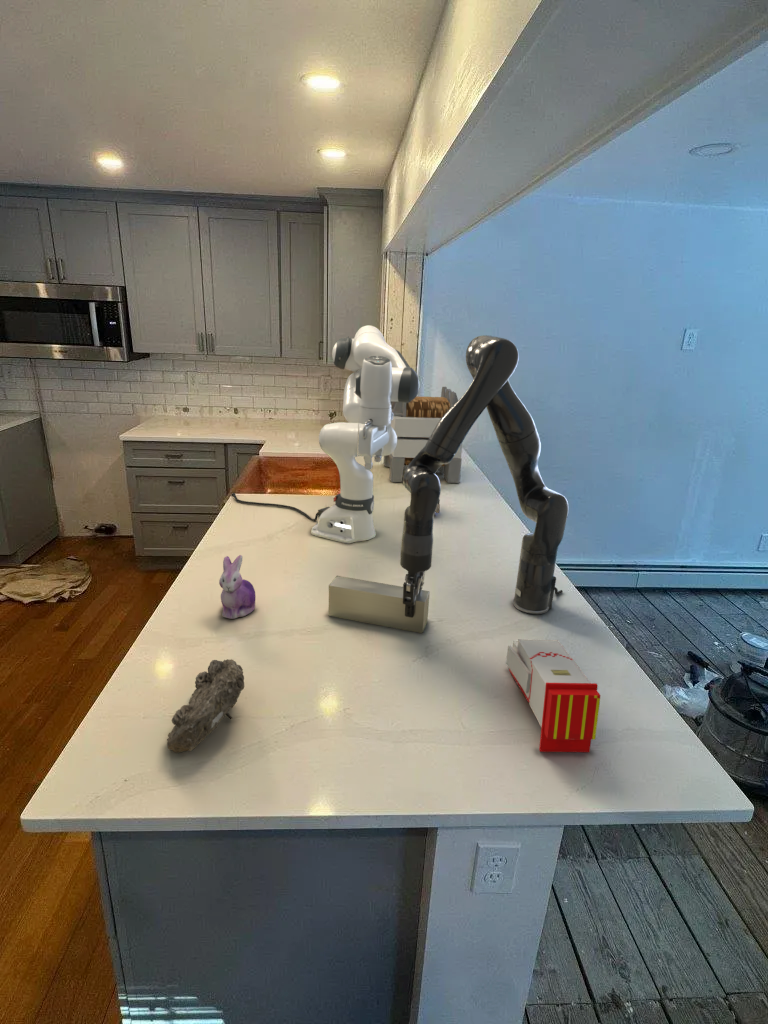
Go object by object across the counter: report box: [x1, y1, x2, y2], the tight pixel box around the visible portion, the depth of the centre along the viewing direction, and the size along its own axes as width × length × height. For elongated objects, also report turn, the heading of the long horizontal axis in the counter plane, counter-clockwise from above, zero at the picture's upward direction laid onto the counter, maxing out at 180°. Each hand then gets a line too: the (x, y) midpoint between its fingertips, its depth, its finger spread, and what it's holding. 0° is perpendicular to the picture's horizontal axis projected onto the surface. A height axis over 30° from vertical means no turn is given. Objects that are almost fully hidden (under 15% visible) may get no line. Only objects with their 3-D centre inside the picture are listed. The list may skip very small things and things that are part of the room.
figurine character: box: [434, 499, 441, 518], centre depth 221 cm, size 7×8×15 cm
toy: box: [505, 638, 602, 753], centre depth 114 cm, size 12×13×30 cm
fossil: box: [166, 658, 245, 754], centre depth 106 cm, size 22×10×15 cm
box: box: [328, 575, 431, 634], centre depth 143 cm, size 25×6×9 cm, turn 74°
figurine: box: [218, 554, 256, 619], centre depth 143 cm, size 9×10×15 cm
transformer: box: [383, 386, 464, 484], centre depth 268 cm, size 34×33×41 cm
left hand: (373, 465), depth 162 cm, fingers open, 8 cm apart
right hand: (412, 609), depth 141 cm, fingers open, 6 cm apart
